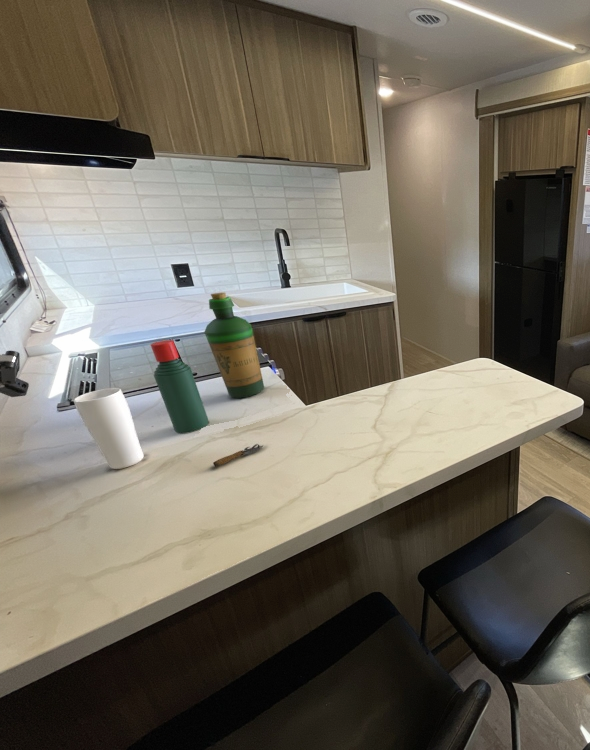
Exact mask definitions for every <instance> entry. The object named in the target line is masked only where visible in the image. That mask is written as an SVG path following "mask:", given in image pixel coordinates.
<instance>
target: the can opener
mask: <svg viewBox="0 0 590 750" xmlns="http://www.w3.org/2000/svg"><path fill="white" fill-rule="evenodd" d="M263 447H264V444H263V445H261V446H260V444H259V443H256V444H254V445H253V446H252V447H250V446H247V447H244V449H243V450H238V451H236V452H234V453H231V454H229V455H227V456H224V457H221V458H219V459H216V460H215V461H213V462H212V465H213V466H214V468H216V467H221V466H222V465H225V464H227V463H230V461H231V462H232V460H235V459H237V458H239V457H242V456H243V455H246V453H255V452H257V451H259V450H260V449H262V448H263Z"/></svg>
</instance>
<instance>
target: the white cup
mask: <svg viewBox="0 0 590 750" xmlns="http://www.w3.org/2000/svg"><path fill="white" fill-rule="evenodd" d="M73 403H74V406H75V409H76V412H77V413H78V415H79V418H80V419H81V422H82V423H83V425H84V426H85V428H86V430H87V431H88V433H89V435H90V437H91V438H92V440H93V441H94V442H95V444H96V446H97V447H98V449H99V450H100V452H101V454H102V455H103V458H104V459H105V461H106V463H107V465H108V466H109V468H111V469H113V470H121V469H125V468H129V467H131V466H134V465H136V464H138V463H140V462H141V461H142V460H143V459H144V456H145V455H144V451H143V449H142V447H141V443H140V440H139V436H138V433H137V430H136V425H135V423H134V419H133V416H132V412H131V409H130V406H129V403H128V401H127V399H126V397H125V395H124V392H123V391H122V389H121V388H119V387H107V388H102V389H97V390H93V391H90V392H89V391H88V392H86V393H83V394H81V395H77V396H76V397H75V398H73Z"/></svg>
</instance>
